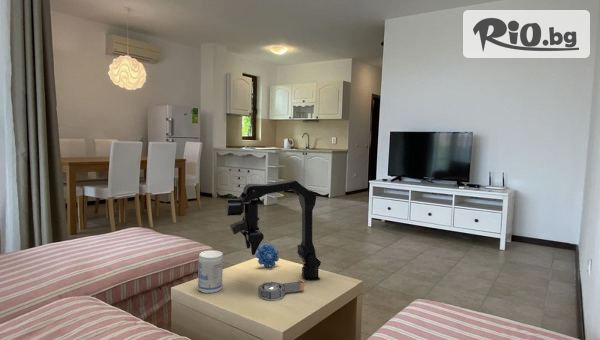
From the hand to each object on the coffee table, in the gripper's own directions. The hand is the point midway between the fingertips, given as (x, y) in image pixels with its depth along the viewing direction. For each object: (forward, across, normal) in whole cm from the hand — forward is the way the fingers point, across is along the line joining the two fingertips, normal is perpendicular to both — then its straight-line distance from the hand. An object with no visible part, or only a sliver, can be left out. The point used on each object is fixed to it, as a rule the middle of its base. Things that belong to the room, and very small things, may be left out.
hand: (250, 251), depth 156 cm
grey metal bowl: (+14, +12, +6) cm, 20 cm away
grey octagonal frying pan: (+14, +12, +10) cm, 21 cm away
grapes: (+15, -18, +13) cm, 26 cm away
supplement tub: (+15, -1, -16) cm, 22 cm away
